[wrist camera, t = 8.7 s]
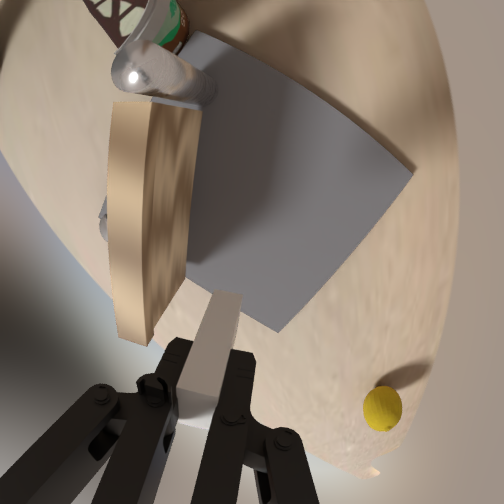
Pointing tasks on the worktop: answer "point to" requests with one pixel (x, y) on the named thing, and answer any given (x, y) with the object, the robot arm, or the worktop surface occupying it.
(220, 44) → the mat
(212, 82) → the posts
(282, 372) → the worktop surface
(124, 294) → the light wood flat slab
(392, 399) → the lemon
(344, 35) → the worktop surface
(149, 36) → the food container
